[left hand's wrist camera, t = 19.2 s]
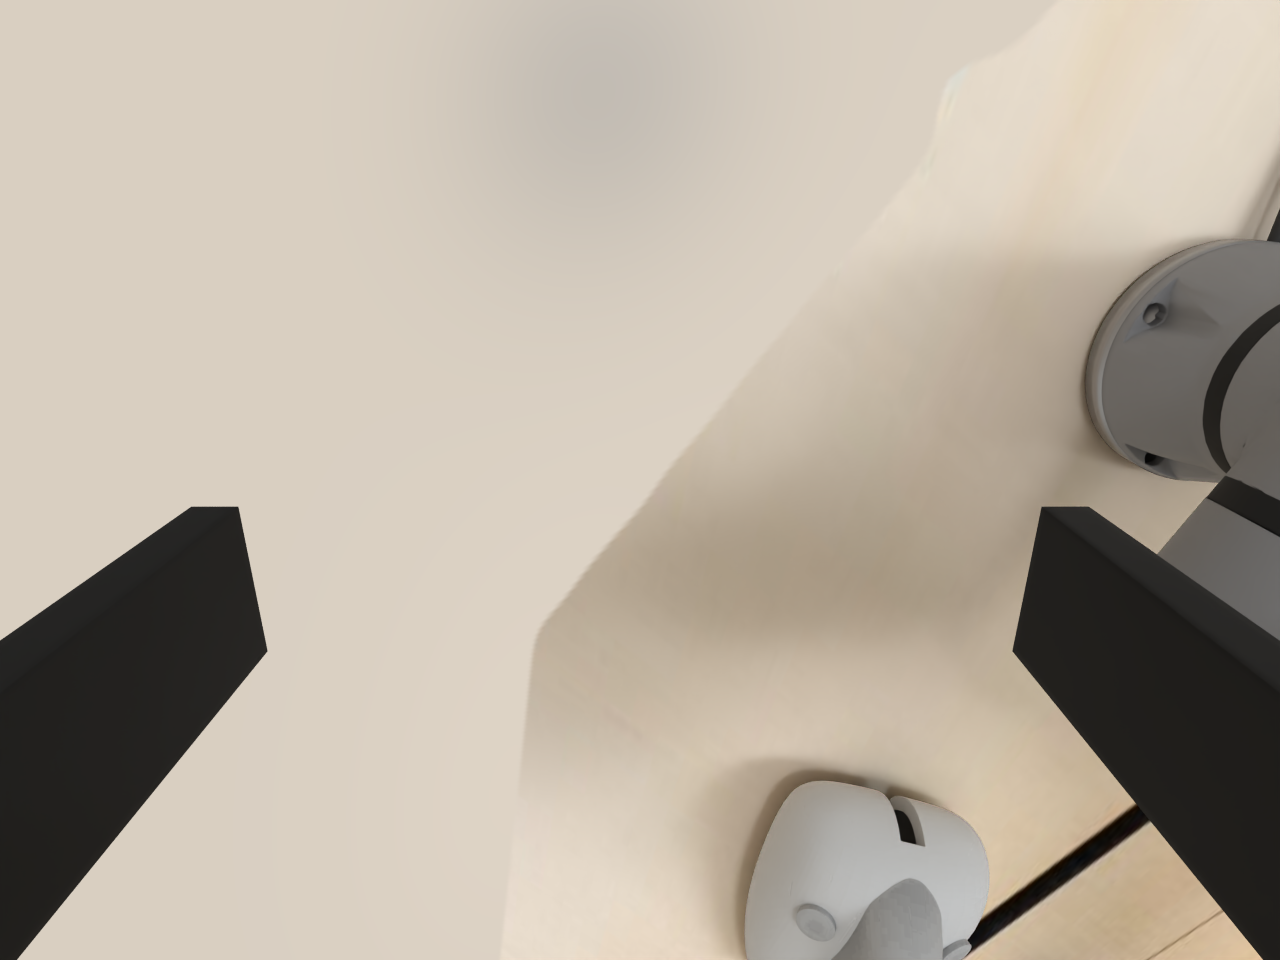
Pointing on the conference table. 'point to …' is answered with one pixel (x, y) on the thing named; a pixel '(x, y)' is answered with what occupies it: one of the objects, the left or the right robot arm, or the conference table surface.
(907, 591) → the conference table surface
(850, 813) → the projector
